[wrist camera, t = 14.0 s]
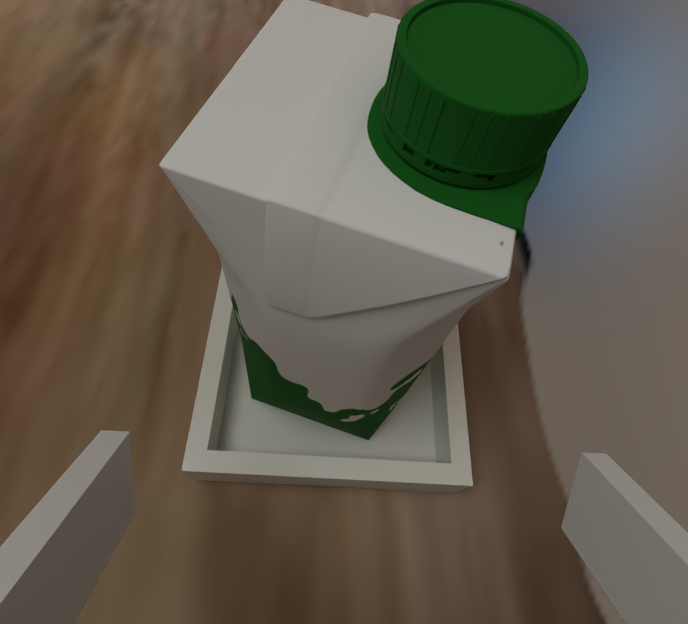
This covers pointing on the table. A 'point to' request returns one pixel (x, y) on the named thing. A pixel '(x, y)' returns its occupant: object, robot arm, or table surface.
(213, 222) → the soya milk
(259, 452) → the square holder
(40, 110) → the table surface
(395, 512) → the table surface
